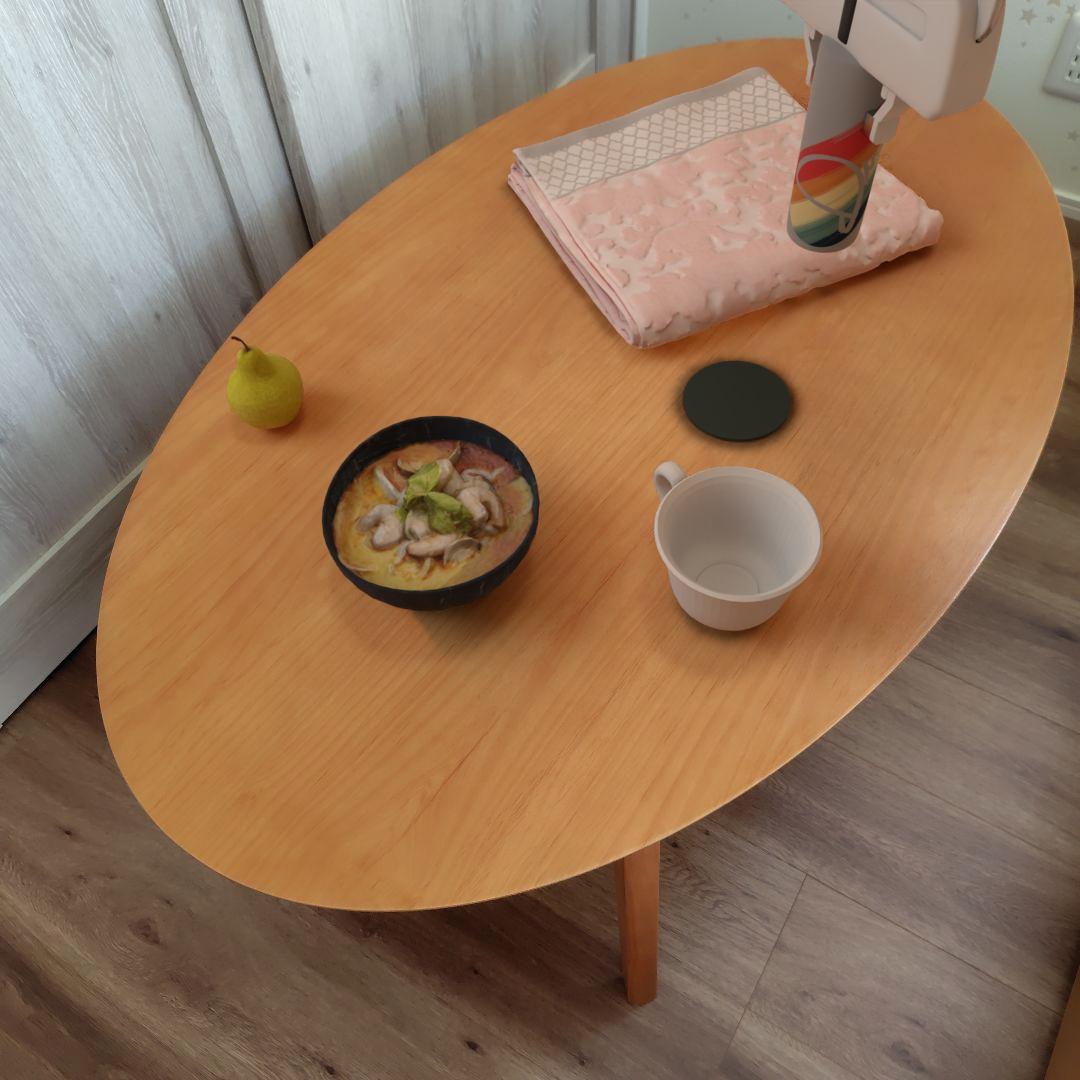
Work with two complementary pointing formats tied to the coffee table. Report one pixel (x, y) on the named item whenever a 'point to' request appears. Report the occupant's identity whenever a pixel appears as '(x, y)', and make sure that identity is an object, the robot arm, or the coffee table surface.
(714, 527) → the teacup
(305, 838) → the coffee table surface
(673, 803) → the coffee table surface
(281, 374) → the fruit
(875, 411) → the coffee table surface
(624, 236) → the towel
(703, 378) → the coaster
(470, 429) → the bowl
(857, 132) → the lotion bottle
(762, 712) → the coffee table surface
